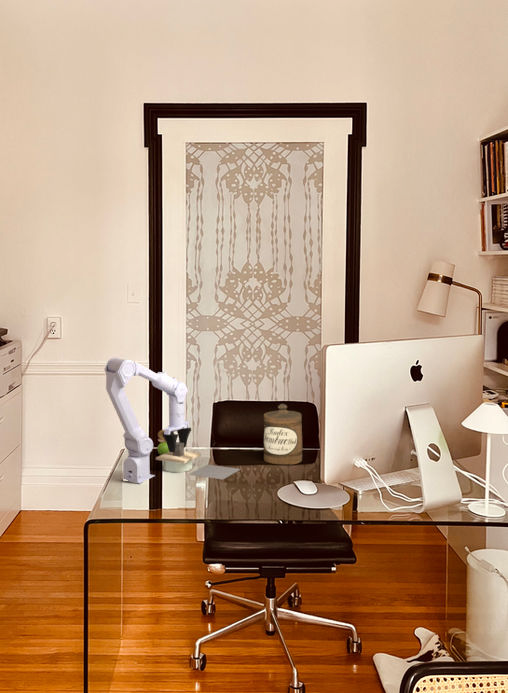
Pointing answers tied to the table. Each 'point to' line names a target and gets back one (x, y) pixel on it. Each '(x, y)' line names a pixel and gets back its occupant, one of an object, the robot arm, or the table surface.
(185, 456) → the lid
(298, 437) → the wooden container
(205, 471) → the mat
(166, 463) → the bowl
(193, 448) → the table surface
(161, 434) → the snail figurine
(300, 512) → the table surface
